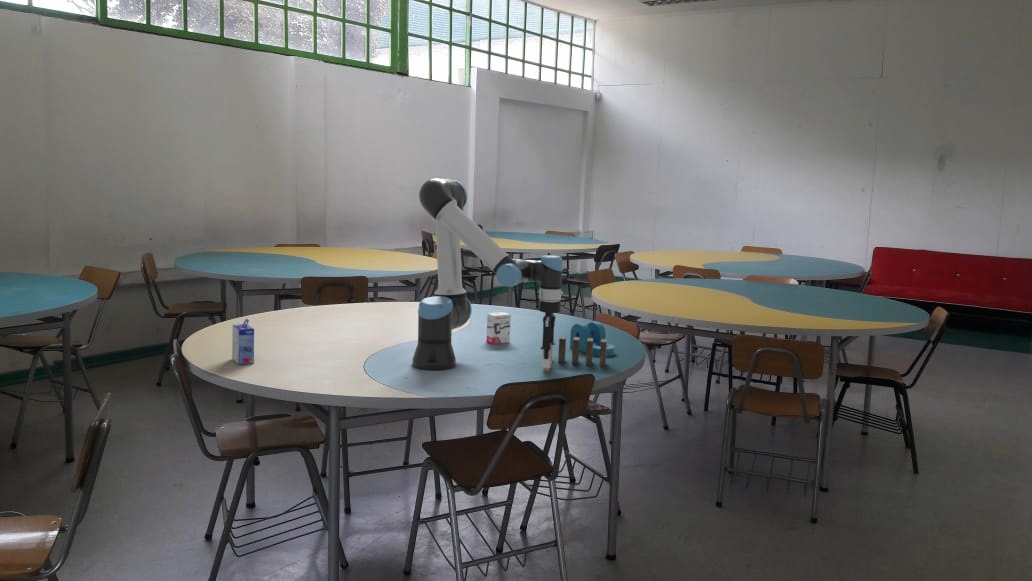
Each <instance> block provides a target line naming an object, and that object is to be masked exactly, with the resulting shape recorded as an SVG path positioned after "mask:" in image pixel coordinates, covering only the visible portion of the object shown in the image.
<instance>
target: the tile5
mask: <svg viewBox="0 0 1032 581" xmlns="http://www.w3.org/2000/svg"><path fill="white" fill-rule="evenodd" d="M592 353H593V338H588V339H587V348H586V353H585V366H592V364H593V355H592Z"/></svg>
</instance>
